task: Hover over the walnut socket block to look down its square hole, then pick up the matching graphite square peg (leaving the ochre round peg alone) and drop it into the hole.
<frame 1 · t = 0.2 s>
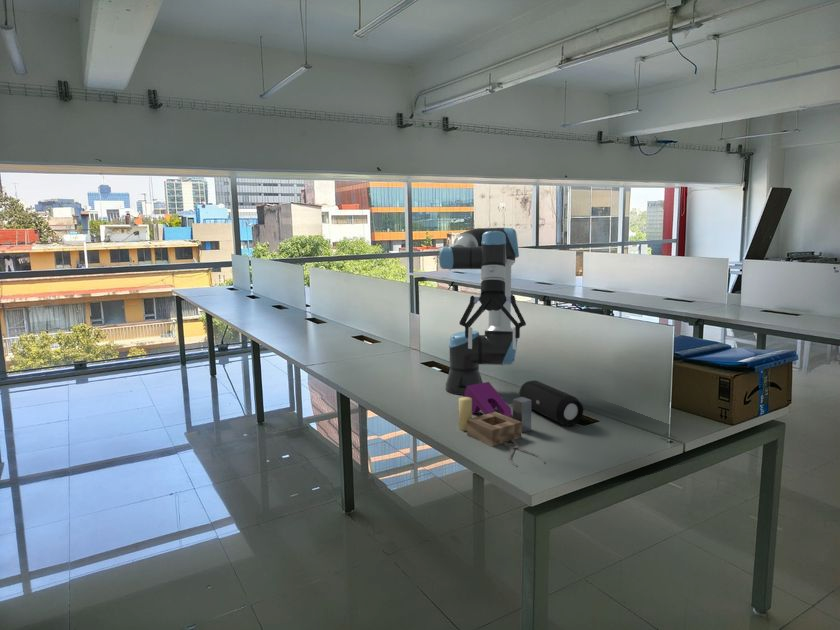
hand: (491, 349, 174), 28 cm above the table, tool tilted 15°, fingers open, 13 cm apart
square peg: (521, 429, 183), on the table
portable speaker: (549, 416, 196), on the table
mounting bracket: (489, 416, 198), on the table
round peg: (465, 428, 185), on the table
pliers: (514, 454, 165), on the table
socket block: (493, 435, 178), on the table
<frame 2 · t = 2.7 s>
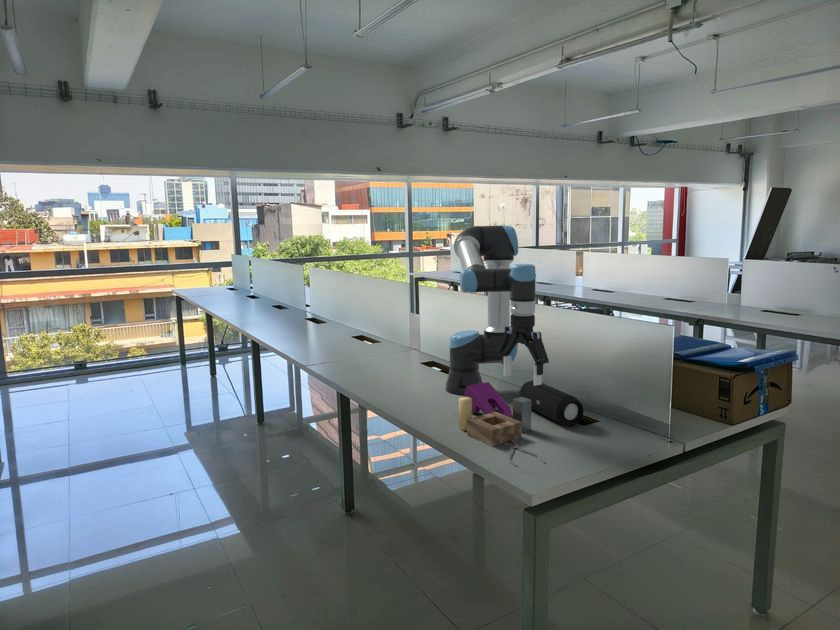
hand: (521, 380, 181), 16 cm above the table, tool pointing down, fingers open, 13 cm apart
nothing on the table moved.
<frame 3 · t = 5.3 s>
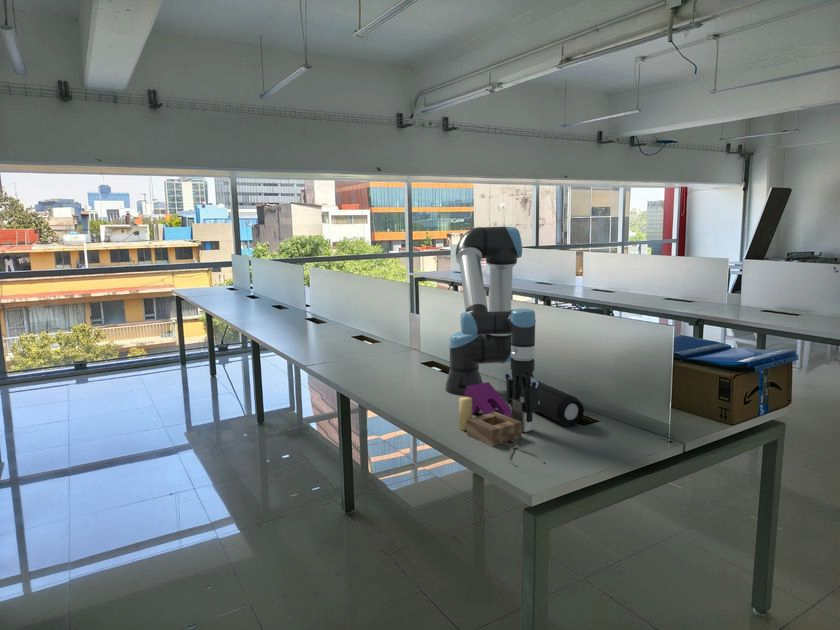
hand: (521, 428, 183), 0 cm above the table, tool pointing down, fingers closed on square peg, 4 cm apart
square peg: (521, 429, 183), on the table, touching gripper
everything else where it was.
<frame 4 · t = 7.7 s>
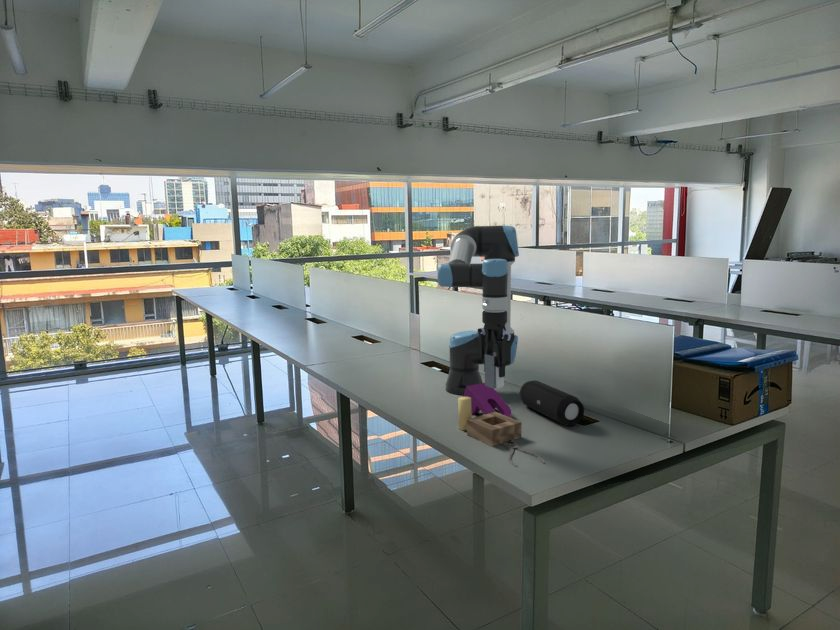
hand: (494, 384, 176), 17 cm above the table, tool pointing down, fingers closed on square peg, 4 cm apart
square peg: (494, 386, 176), point 16 cm above the table, touching gripper
everything else where it was.
when the fingers open (6 cm above the table, at t = 10.5 s): square peg drops 6 cm, resting in socket block.
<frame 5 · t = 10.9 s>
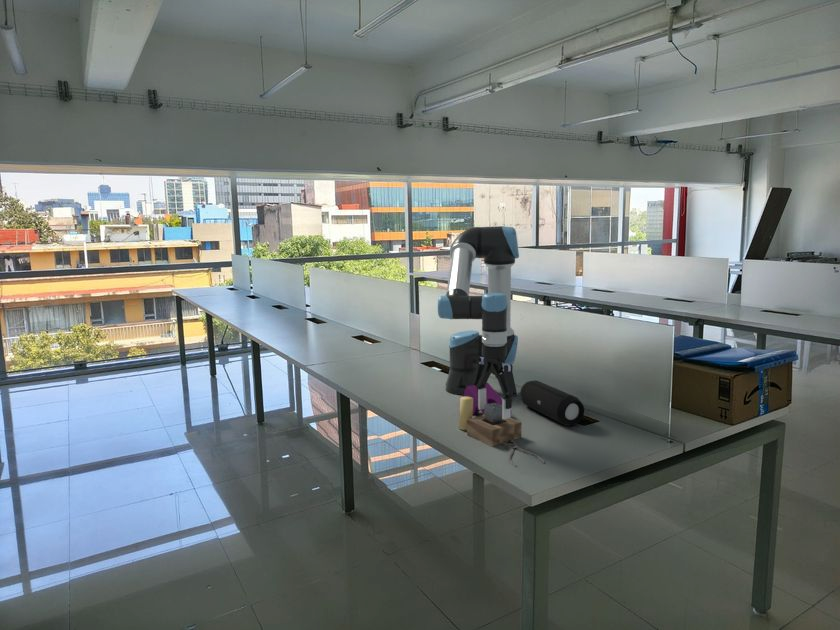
hand: (493, 413, 177), 7 cm above the table, tool pointing down, fingers open, 10 cm apart
square peg: (493, 436, 178), resting in socket block
everything else where it was.
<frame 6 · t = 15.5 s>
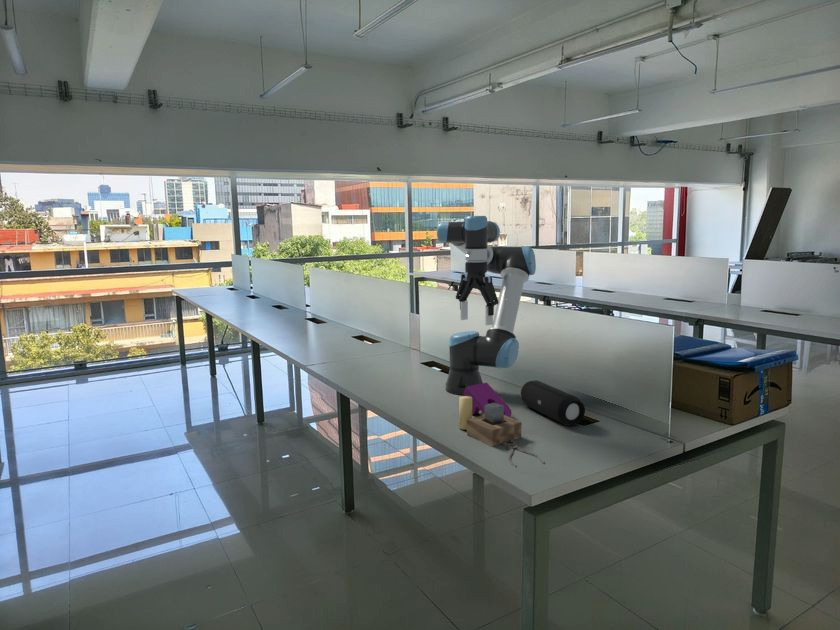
hand: (476, 322, 199), 32 cm above the table, tool pointing down, fingers open, 13 cm apart
nothing on the table moved.
at the end: square peg 0.0 cm off-centre on the socket block, point 0.0 cm above the socket block's base; square peg tilted 0°; the gripper is holding nothing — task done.
